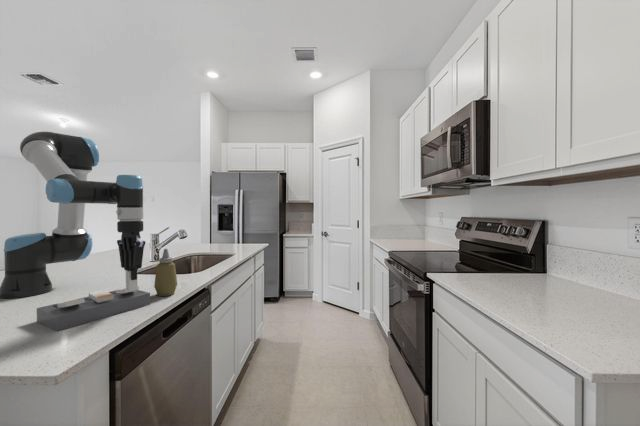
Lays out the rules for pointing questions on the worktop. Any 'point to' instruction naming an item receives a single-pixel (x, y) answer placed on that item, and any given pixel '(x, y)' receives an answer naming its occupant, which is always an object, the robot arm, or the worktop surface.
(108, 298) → the middle rocker
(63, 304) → the rocker
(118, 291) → the rocker
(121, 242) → the robot arm
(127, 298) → the power strip
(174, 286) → the squeeze bottle
